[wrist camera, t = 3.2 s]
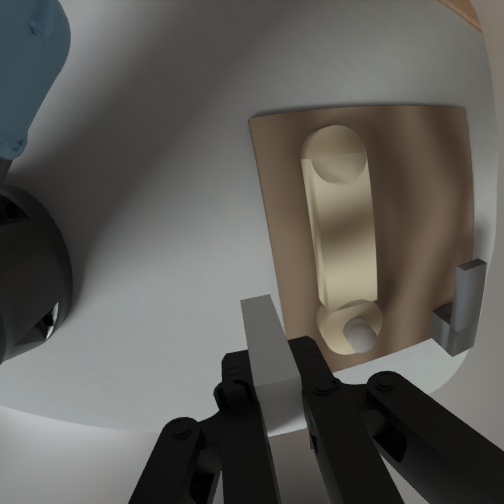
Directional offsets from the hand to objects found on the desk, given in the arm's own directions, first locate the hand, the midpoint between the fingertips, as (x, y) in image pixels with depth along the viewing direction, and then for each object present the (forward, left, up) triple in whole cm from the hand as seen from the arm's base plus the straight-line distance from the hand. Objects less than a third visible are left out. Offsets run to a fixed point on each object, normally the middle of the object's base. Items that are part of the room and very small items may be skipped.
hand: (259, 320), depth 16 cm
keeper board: (+13, -1, -9) cm, 15 cm away
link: (+7, 0, -8) cm, 11 cm away
